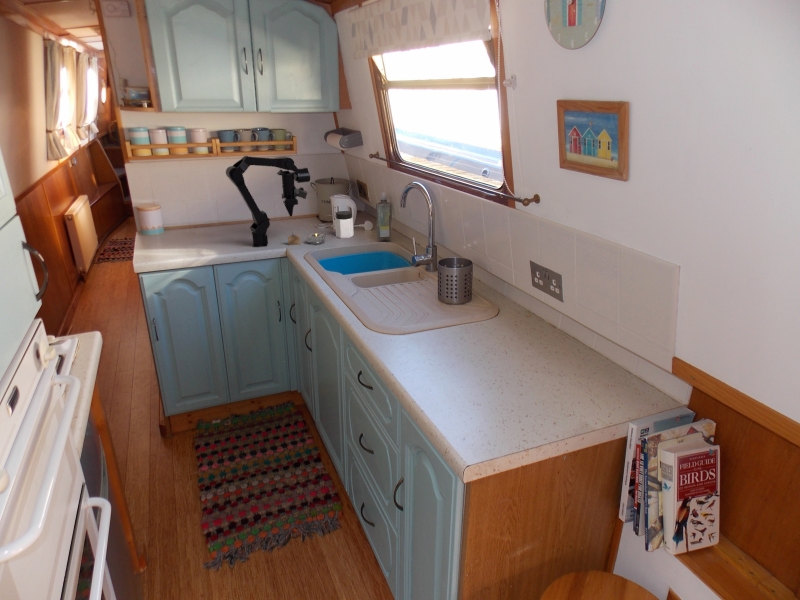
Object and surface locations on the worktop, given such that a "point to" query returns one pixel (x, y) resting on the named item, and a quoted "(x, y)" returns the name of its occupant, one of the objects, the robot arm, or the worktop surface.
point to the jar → (344, 224)
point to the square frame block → (315, 238)
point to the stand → (294, 239)
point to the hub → (316, 242)
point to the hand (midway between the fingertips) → (291, 216)
